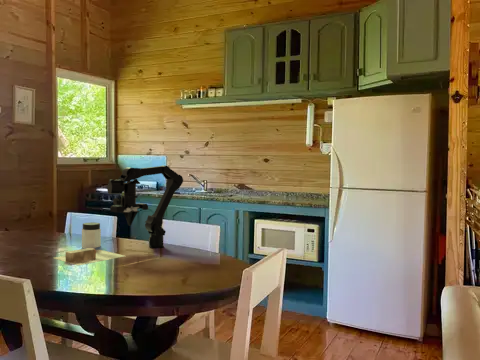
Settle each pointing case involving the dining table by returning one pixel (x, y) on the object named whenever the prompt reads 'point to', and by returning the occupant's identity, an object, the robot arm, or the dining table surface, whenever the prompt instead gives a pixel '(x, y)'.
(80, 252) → the block
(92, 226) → the jar
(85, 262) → the board
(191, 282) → the dining table surface
